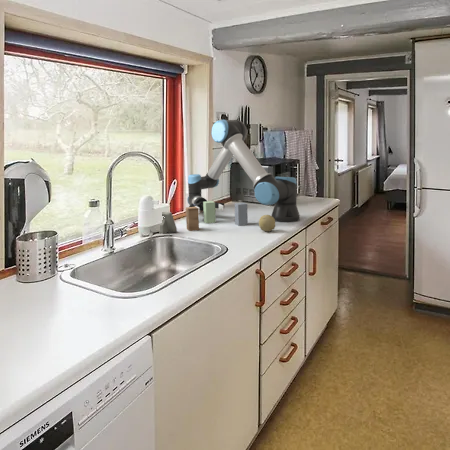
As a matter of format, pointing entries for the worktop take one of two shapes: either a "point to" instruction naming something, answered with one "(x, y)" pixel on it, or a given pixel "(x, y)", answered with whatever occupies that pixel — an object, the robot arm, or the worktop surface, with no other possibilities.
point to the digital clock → (167, 223)
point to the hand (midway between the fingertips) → (211, 209)
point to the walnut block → (192, 218)
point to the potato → (267, 223)
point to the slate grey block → (241, 214)
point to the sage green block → (209, 212)
